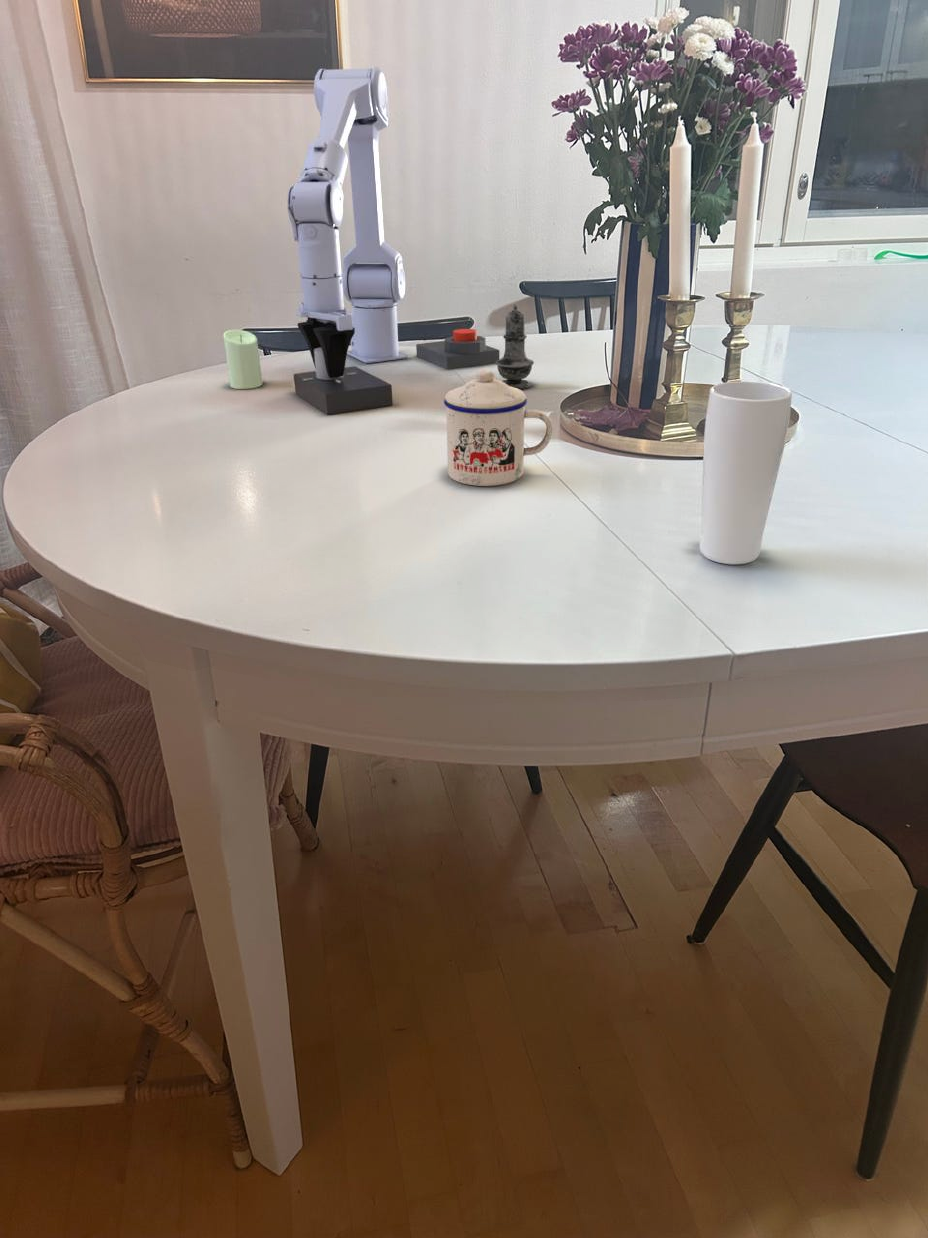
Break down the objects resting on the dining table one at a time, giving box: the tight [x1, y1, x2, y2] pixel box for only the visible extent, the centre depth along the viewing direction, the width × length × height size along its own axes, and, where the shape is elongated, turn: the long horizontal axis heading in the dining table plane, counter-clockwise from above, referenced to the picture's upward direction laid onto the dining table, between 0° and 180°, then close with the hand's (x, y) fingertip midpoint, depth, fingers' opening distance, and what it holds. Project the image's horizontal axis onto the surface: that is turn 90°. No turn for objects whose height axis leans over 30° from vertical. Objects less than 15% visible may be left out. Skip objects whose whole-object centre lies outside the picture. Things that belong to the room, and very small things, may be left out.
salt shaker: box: [495, 304, 535, 391], centre depth 137 cm, size 6×6×12 cm
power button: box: [452, 328, 478, 342], centre depth 152 cm, size 4×4×2 cm
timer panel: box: [293, 365, 394, 416], centre depth 133 cm, size 14×10×3 cm
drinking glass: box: [699, 380, 793, 565], centre depth 79 cm, size 7×7×15 cm
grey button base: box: [415, 335, 500, 370], centre depth 156 cm, size 12×10×4 cm
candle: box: [222, 329, 263, 390], centre depth 140 cm, size 5×5×8 cm
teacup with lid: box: [443, 369, 554, 487], centre depth 100 cm, size 12×9×12 cm
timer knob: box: [314, 347, 344, 380], centre depth 133 cm, size 4×4×4 cm
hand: (329, 373), depth 133 cm, fingers closed on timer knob, 4 cm apart
